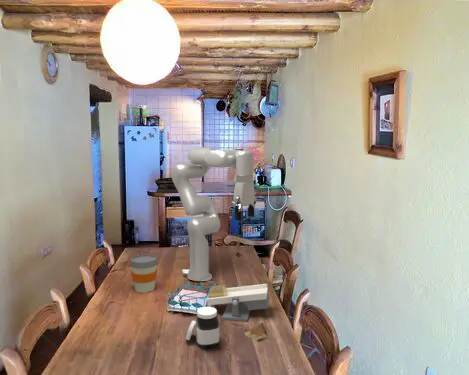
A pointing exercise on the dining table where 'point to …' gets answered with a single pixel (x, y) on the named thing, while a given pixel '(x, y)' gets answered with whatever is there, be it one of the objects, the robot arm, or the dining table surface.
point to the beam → (245, 296)
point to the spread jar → (205, 327)
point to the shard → (257, 332)
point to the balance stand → (236, 310)
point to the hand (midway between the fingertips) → (244, 218)
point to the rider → (218, 291)
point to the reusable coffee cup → (144, 272)
